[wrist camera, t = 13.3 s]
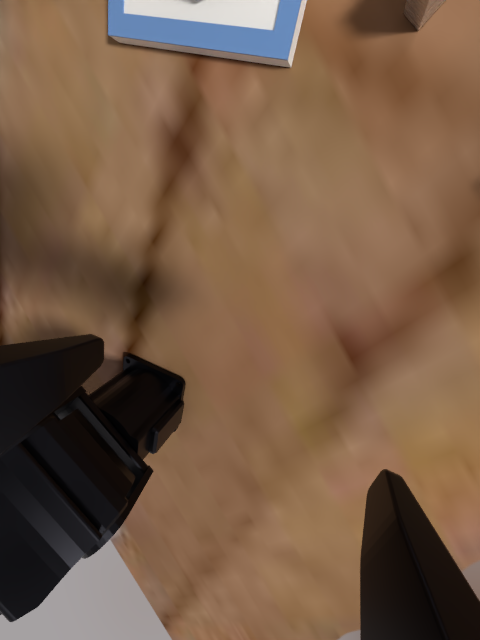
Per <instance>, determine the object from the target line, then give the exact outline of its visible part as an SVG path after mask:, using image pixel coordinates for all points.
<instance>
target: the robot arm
mask: <svg viewBox="0 0 480 640" xmlns="http://www.w3.org/2000/svg"><path fill="white" fill-rule="evenodd" d="M103 360H104V341H103V339H102V338H100V337H97V336H95V335H92V334H88V335H81V336H73V337H65V338H57V339H49V340H42V341H34V342H26V343H18V344H10V345H3V346H0V615H1V614H3V615H4V616H5V617H6V618H7V620H8V621H9V622H13V621H15V620H17V619H19V618H20V617H22V616H24V615H25V614H27V613H28V612H30V611H32V610H33V609H35V608H37V607H38V606H39V605H40V604H41V603H42V602H43V600H44V599H45V598H46V597H47V596H48V594H49V593H50V592H51V591H52V590H53V589H54V587H55V586H56V585H57V584H58V583H59V582H60V580H61V579H62V578H63V577H64V576H65V575H66V573H67V572H68V571H69V570H70V569H71V568H72V567H73V566H74V565H75V564H76V563H77V562H78V561H79V560H80V558H88V557H90V556H91V555H92V554H94V553H95V552H97V551H98V550H99V549H100V548H101V547H102V546H103V545H104V544H105V543H106V542H108V540H109V539H110V538H111V537H112V536H113V535H114V534H115V533H116V531H117V530H118V529H119V528H120V526H121V525H122V524H123V522H124V521H125V519H126V518H127V516H128V515H129V513H130V511H131V509H132V508H133V506H134V504H135V502H136V501H137V499H138V497H139V495H140V494H141V492H142V490H143V488H144V487H145V485H146V483H147V481H148V480H149V478H150V476H151V474H152V473H153V470H152V468H151V467H150V466H147V464H146V463H145V462H144V461H143V459H144V458H145V457H146V456H147V454H148V453H149V452H150V453H152V454H154V453H156V452H157V451H158V450H159V449H160V448H161V446H162V445H163V444H164V443H165V441H166V440H167V439H168V438H169V436H170V435H171V434H172V433H173V432H174V431H176V430H177V428H178V425H179V424H180V423H181V419H182V413H183V408H184V401H183V396H184V390H185V381H184V379H182V378H181V377H178V376H176V375H174V374H172V373H170V372H168V371H165V370H163V369H161V368H159V367H157V366H155V365H152V364H150V363H148V362H146V361H144V360H142V359H139V358H137V357H135V356H133V355H130V354H128V355H127V356H125V357H124V362H123V371H122V372H121V373H119V374H118V375H117V376H115V377H114V378H112V379H111V380H110V381H108V382H107V383H105V384H104V385H103V386H101V387H100V388H98V389H97V390H96V391H94V392H93V393H91V394H90V395H89V396H88V395H87V394H86V390H85V389H84V388H83V387H82V386H81V385H82V384H83V383H84V382H85V381H86V380H87V379H88V378H89V377H90V376H91V375H92V374H93V373H94V372H95V371H96V370H97V369H98V368H99V367H100V366H101V364H102V363H103ZM179 383H180V384H179ZM80 386H81V387H80ZM360 616H361V640H480V601H479V599H478V598H477V596H476V594H475V593H474V591H473V590H472V588H471V586H470V585H469V583H468V582H467V580H466V579H465V577H464V575H463V574H462V572H461V570H460V569H459V567H458V566H457V564H456V562H455V561H454V559H453V558H452V556H451V554H450V553H449V551H448V550H447V548H446V546H445V545H444V543H443V542H442V540H441V538H440V537H439V535H438V534H437V532H436V530H435V529H434V527H433V526H432V524H431V522H430V521H429V519H428V518H427V516H426V514H425V513H424V511H423V510H422V508H421V507H420V505H419V503H418V502H417V500H416V499H415V497H414V495H413V494H412V492H411V491H410V489H409V487H408V486H407V484H406V483H405V481H404V479H403V478H402V477H401V476H400V475H398V474H396V473H394V472H391V471H389V470H387V469H384V470H382V471H381V472H380V473H379V475H378V476H377V478H376V479H375V480H374V482H373V483H372V485H371V486H370V488H369V490H368V493H367V500H366V509H365V519H364V529H363V538H362V548H361V563H360Z"/></svg>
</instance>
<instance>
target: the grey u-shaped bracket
mask: <svg viewBox="0 0 480 640" xmlns="http://www.w3.org/2000/svg"><path fill="white" fill-rule="evenodd" d="M445 1H446V0H407V1H406V5H405V9H404V13H403V14H404V15H405V16H406V17H407V19H408V20H409V21H410V22H411V23H412V25H413V26H414V27H415V28H416V30H417V31H419V29H420V28H421V27H422V26H423V25H424V24H425V23H426V22H427V21H428V20H429V18H430V17H431V16H432V15H433V14H434V13H435V12H436V11H437V10H438V8H439V7H440V6H441V5H442V4H443V3H444V2H445Z"/></svg>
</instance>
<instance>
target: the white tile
mask: <svg viewBox="0 0 480 640" xmlns="http://www.w3.org/2000/svg"><path fill="white" fill-rule="evenodd" d="M306 2H307V0H197V1H196V0H108V35H109V36H110V37H112V38H113V39H115V40H116V41H118V42H119V43H125V44H132V45H138V46H145V47H152V48H159V49H166V50H173V51H180V52H187V53H194V54H201V55H207V56H214V57H221V58H228V59H235V60H242V61H249V62H256V63H263V64H270V65H276V66H283V67H290V68H291V66H292V61H293V57H294V53H295V49H296V45H297V40H298V36H299V32H300V28H301V23H302V19H303V15H304V11H305V6H306Z"/></svg>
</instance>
